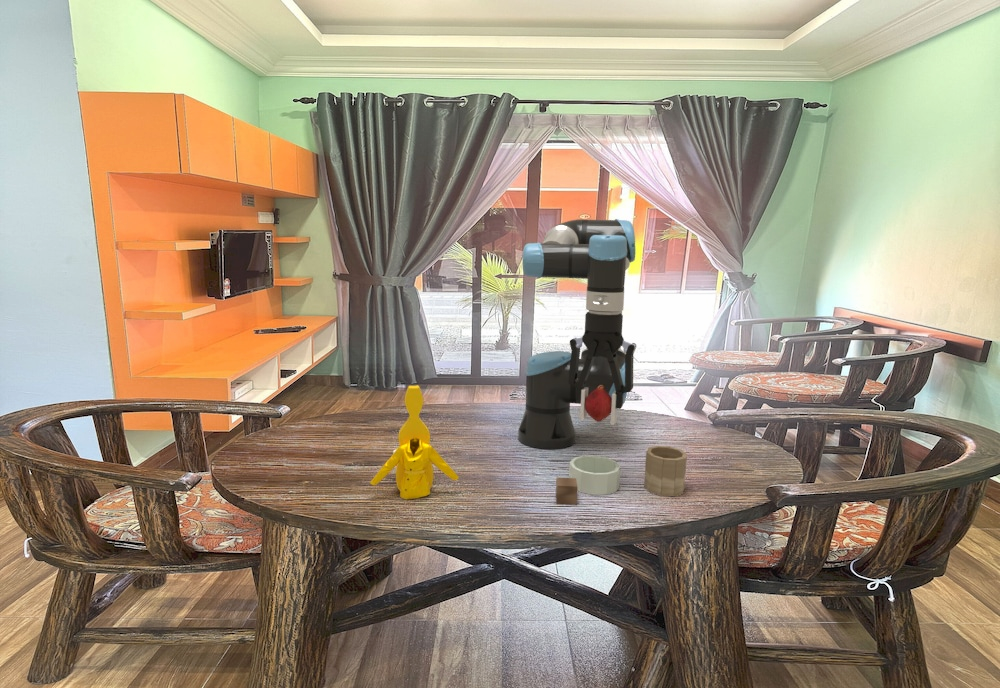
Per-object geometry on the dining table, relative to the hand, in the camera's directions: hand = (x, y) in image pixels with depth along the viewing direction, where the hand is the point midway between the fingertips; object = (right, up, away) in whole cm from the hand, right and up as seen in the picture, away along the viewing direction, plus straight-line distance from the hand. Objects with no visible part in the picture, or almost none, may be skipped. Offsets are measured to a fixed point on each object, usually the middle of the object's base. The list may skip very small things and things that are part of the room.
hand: (598, 420), depth 118 cm
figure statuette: (-38, -15, -3) cm, 41 cm away
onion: (0, -1, 0) cm, 1 cm away
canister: (+14, -15, +1) cm, 21 cm away
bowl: (-1, -14, +2) cm, 14 cm away
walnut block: (-8, -16, -5) cm, 18 cm away
